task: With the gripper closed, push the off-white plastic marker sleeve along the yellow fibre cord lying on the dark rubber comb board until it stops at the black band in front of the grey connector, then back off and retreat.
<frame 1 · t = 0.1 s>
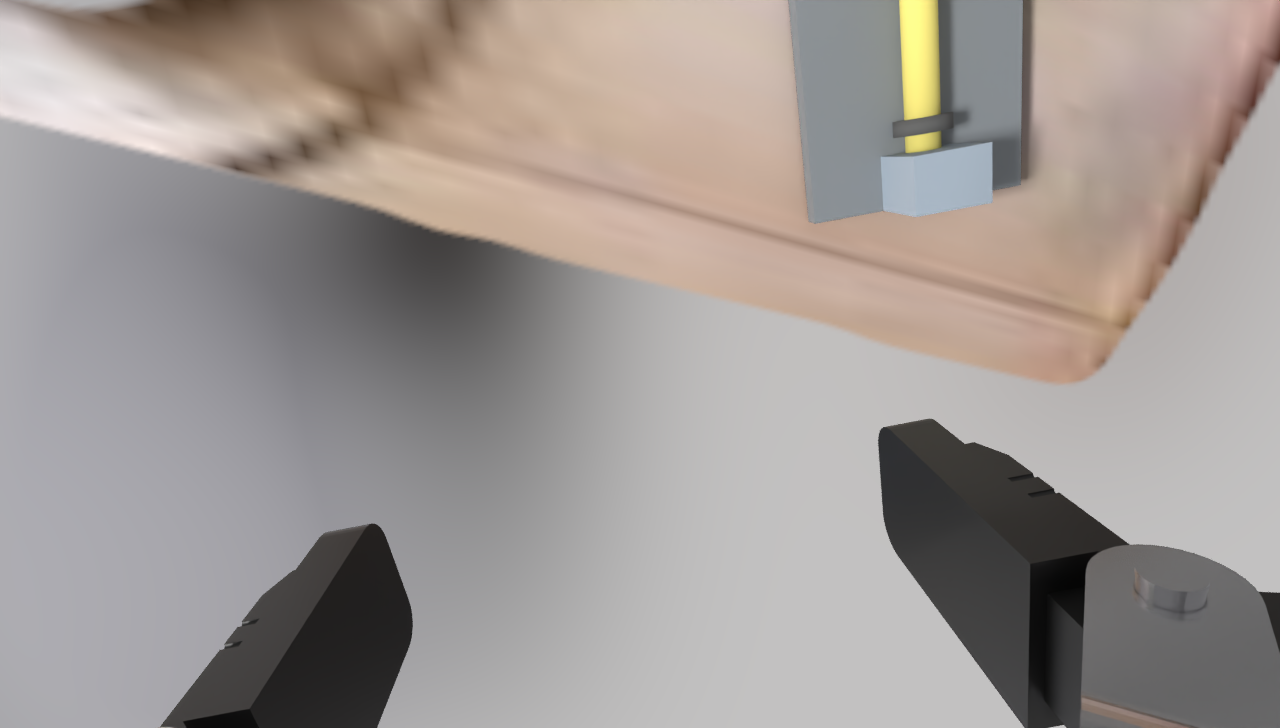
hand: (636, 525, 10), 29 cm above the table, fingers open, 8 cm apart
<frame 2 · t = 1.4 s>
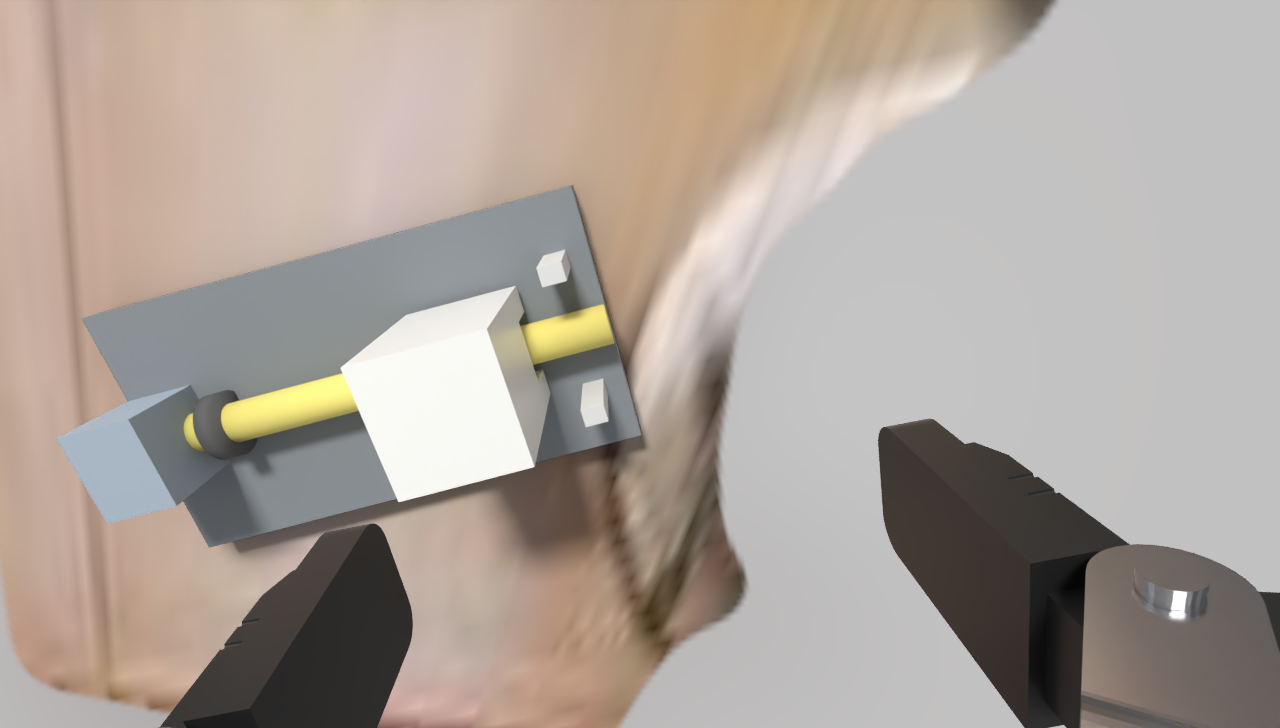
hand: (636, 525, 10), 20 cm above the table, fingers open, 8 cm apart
comb board: (385, 371, 30), on the table
sleeve: (463, 382, 25), point 5 cm above the table, slide at 0.0 cm
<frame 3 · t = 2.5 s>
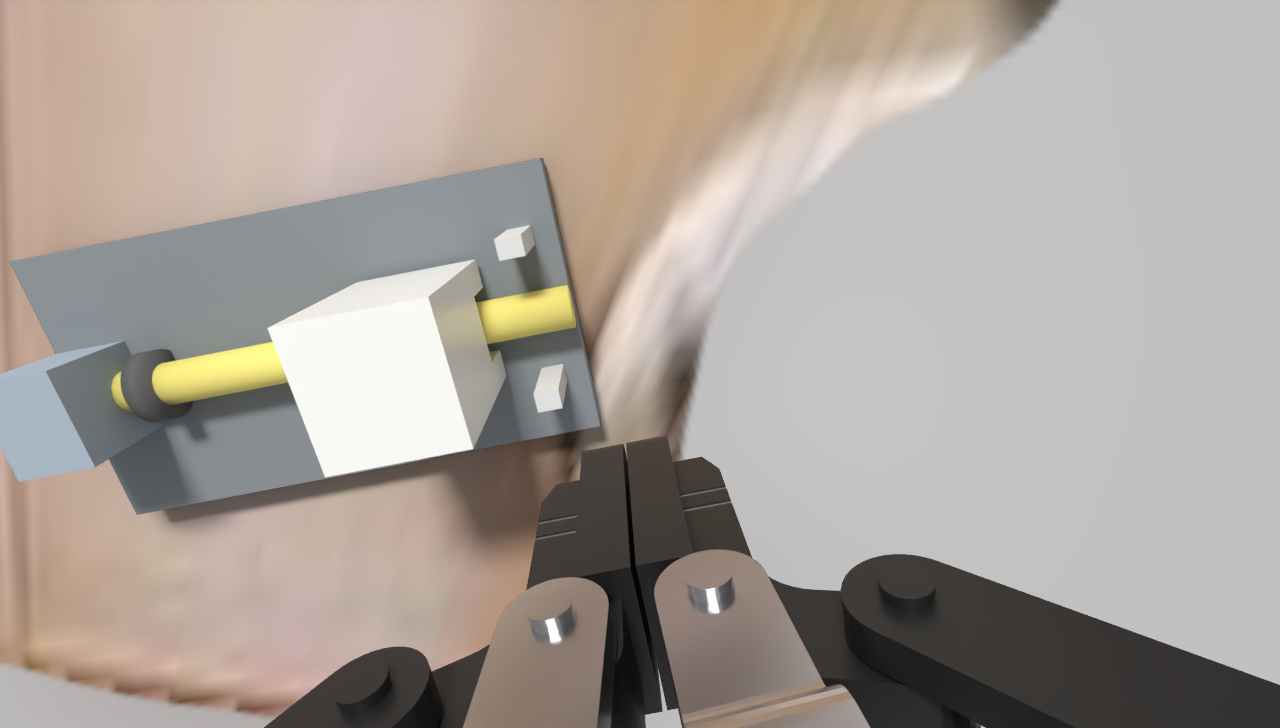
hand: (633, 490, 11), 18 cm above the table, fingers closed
comb board: (335, 341, 29), on the table
sleeve: (408, 355, 24), point 5 cm above the table, slide at 0.0 cm
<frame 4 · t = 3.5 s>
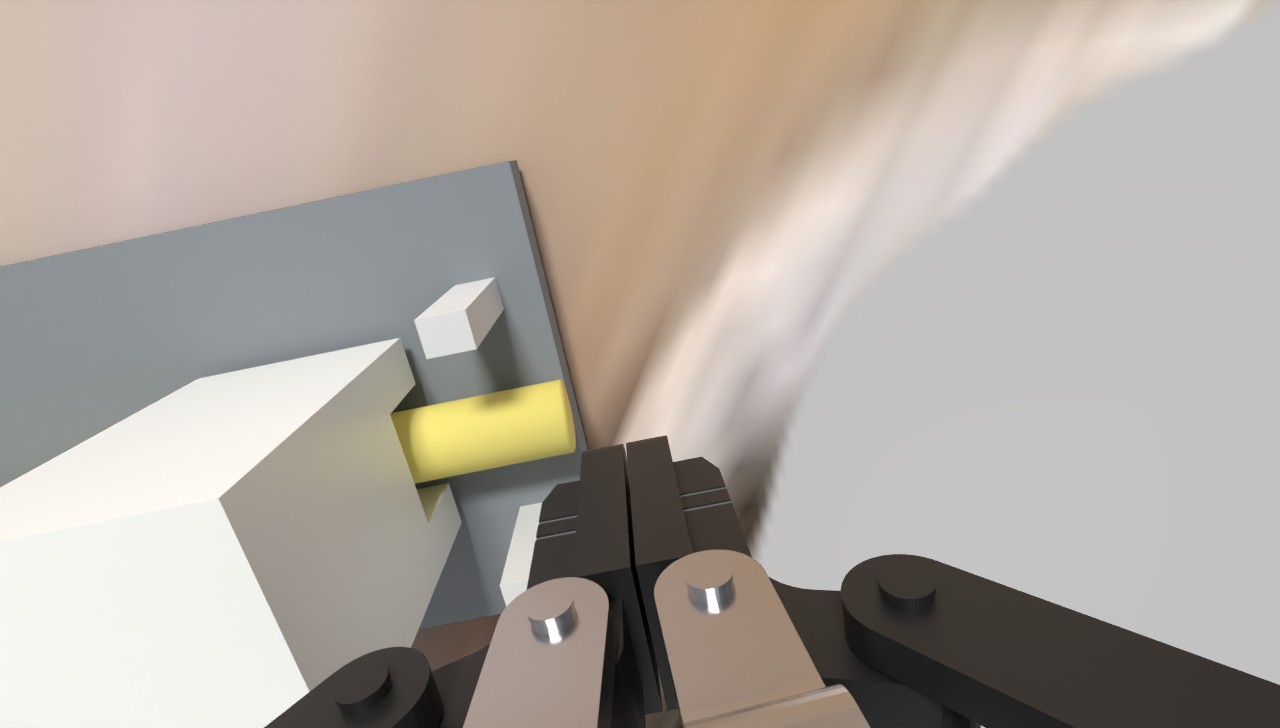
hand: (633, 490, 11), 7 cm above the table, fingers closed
comb board: (185, 462, 18), on the table
sleeve: (259, 538, 13), point 5 cm above the table, slide at 0.0 cm
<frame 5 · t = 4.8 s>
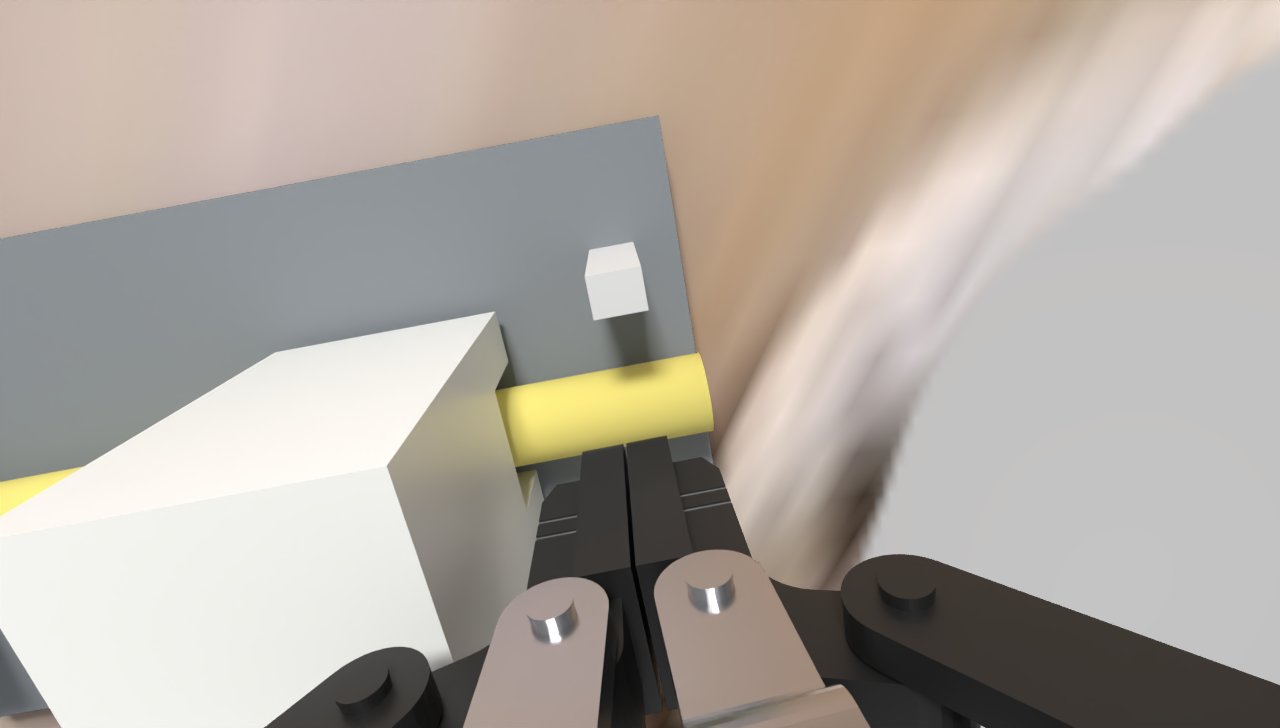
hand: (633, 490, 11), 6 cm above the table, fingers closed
comb board: (277, 439, 16), on the table
sleeve: (361, 522, 11), point 5 cm above the table, slide at 0.8 cm, touching gripper
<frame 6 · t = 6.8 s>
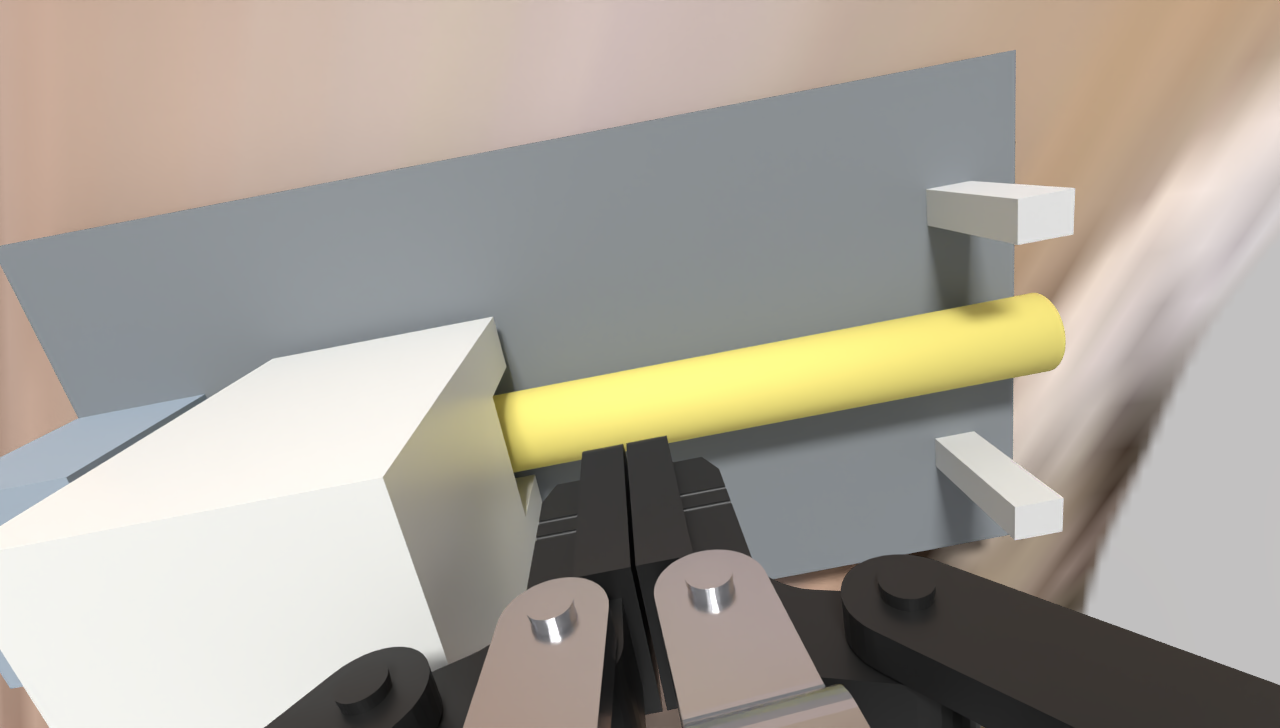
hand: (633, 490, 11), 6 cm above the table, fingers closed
comb board: (566, 390, 16), on the table
sleeve: (359, 530, 11), point 5 cm above the table, slide at 8.5 cm, touching gripper
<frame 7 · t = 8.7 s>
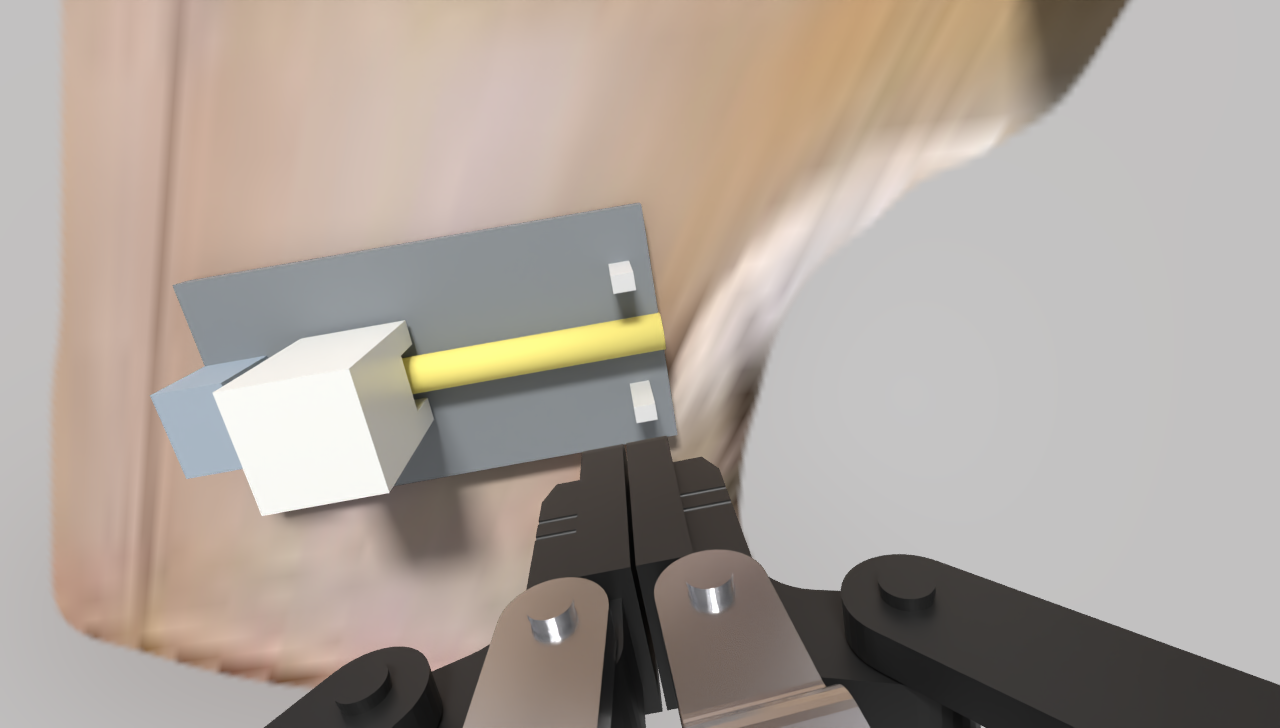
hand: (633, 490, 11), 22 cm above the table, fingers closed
comb board: (446, 357, 33), on the table
sleeve: (340, 408, 27), point 5 cm above the table, slide at 8.5 cm
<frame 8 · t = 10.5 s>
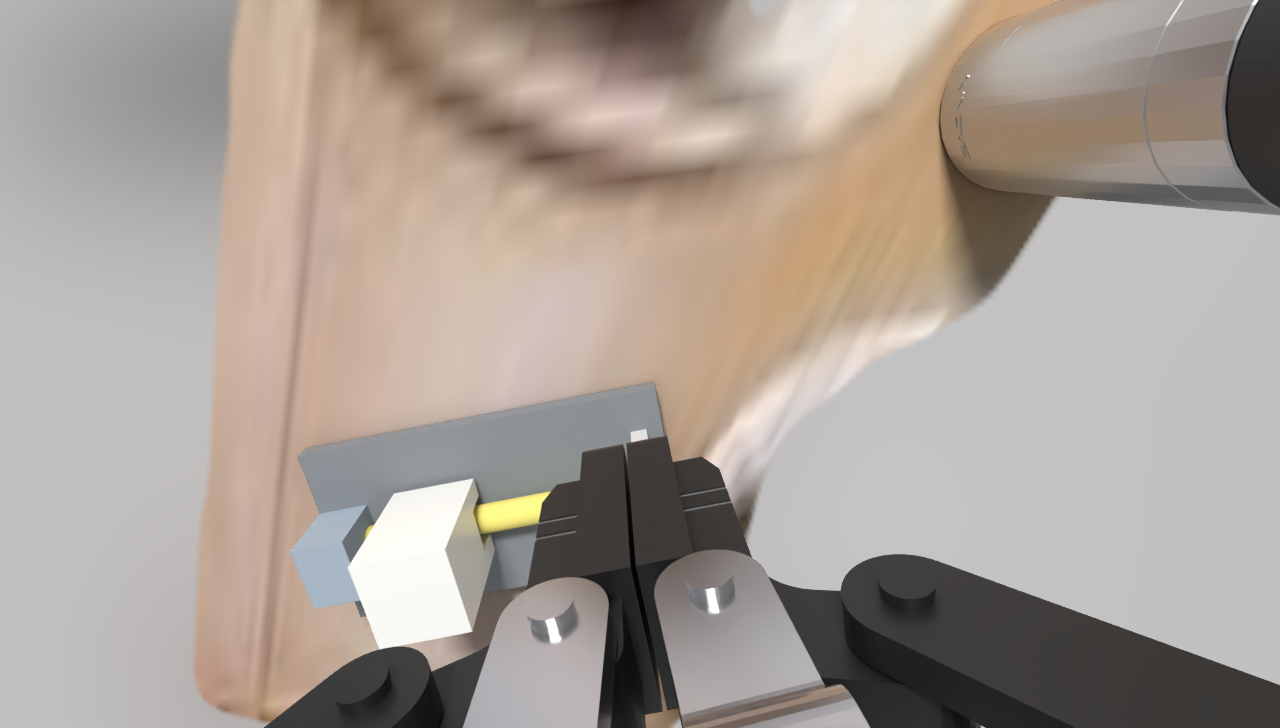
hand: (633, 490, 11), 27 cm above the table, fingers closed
comb board: (503, 498, 41), on the table
sleeve: (430, 557, 36), point 5 cm above the table, slide at 8.5 cm
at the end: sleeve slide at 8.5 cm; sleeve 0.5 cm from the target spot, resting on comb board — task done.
